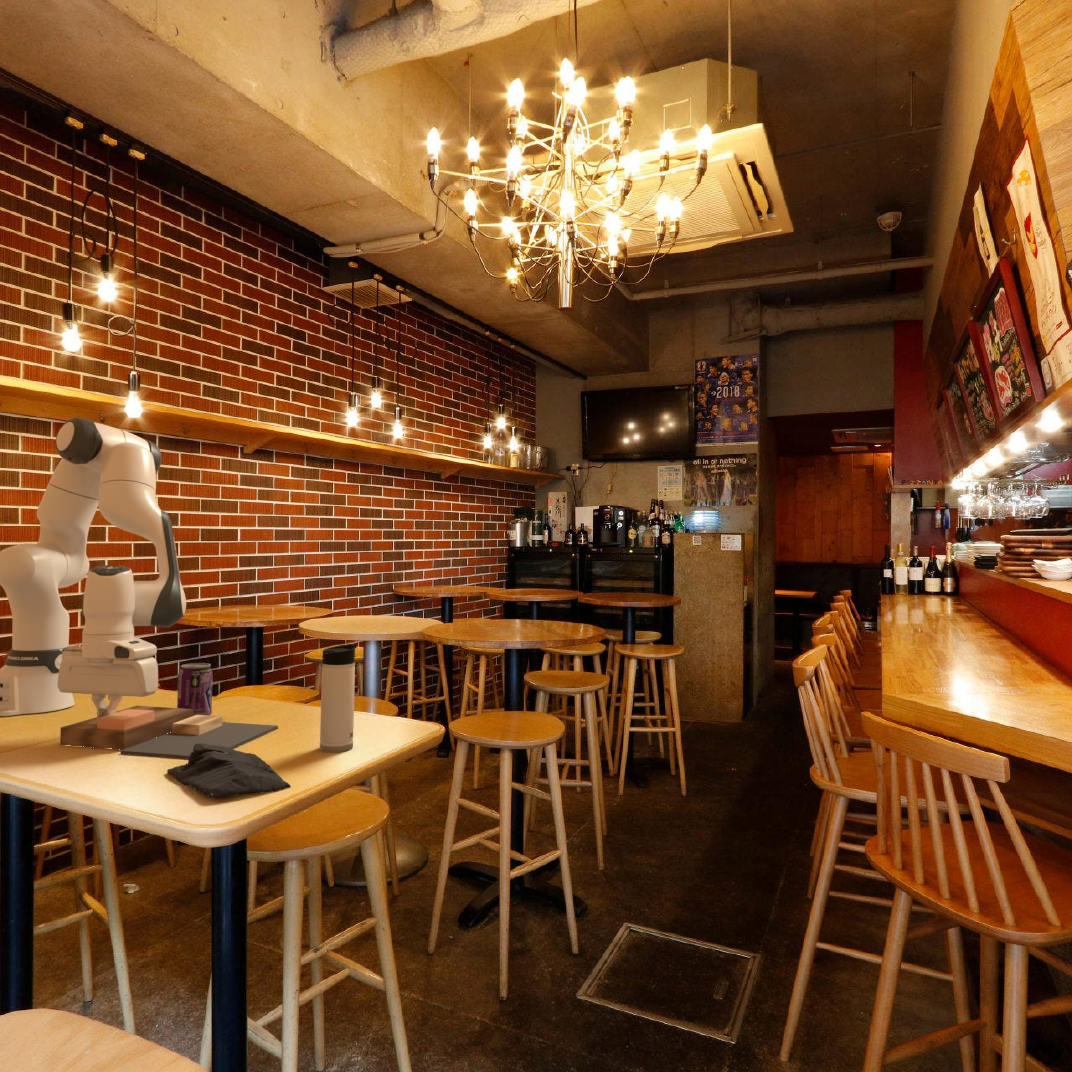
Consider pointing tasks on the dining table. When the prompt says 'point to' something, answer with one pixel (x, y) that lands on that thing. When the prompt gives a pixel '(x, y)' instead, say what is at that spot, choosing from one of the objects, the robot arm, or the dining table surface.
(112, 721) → the tilted orange prism
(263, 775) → the crumpled black cloth
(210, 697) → the beverage can
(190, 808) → the dining table surface
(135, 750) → the mat
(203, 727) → the tan rectangular block
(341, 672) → the travel mug
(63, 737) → the walnut board
